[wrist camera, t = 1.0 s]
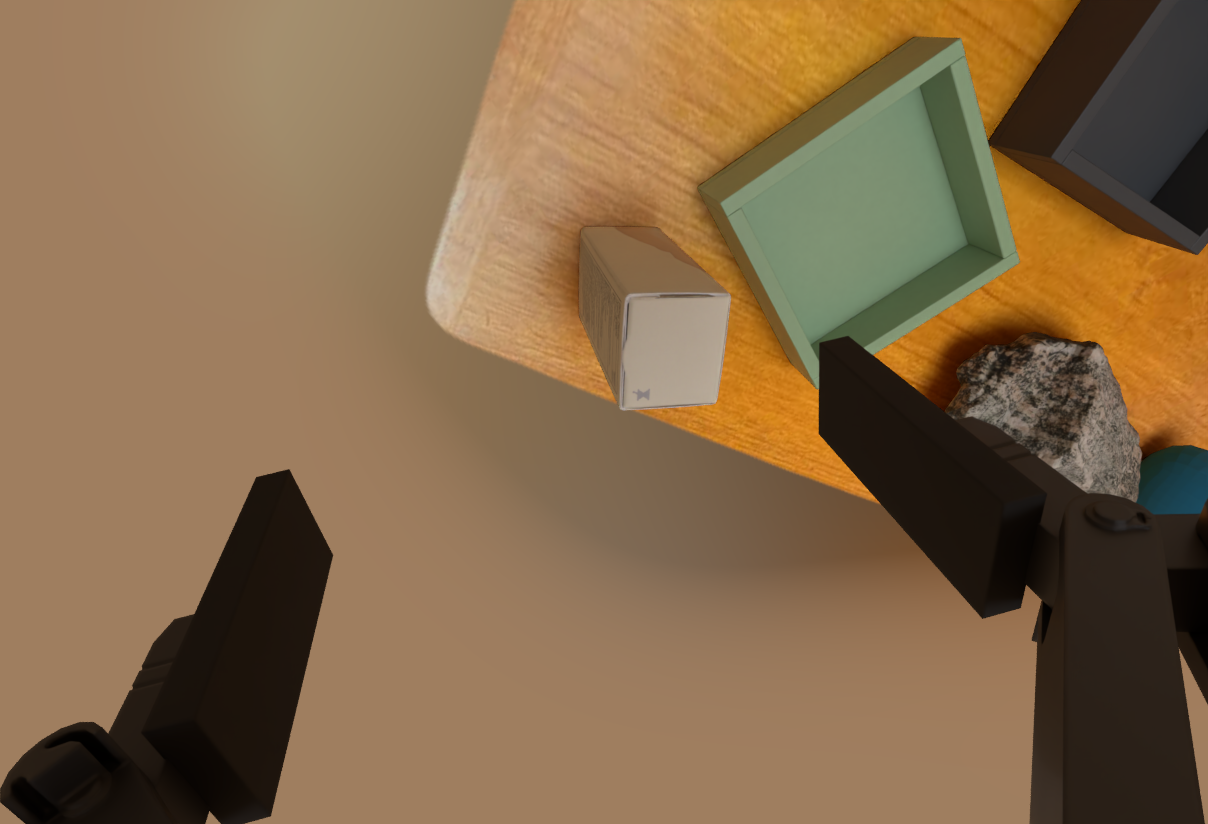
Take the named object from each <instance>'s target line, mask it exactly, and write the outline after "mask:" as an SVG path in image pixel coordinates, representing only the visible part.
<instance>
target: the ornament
mask: <svg viewBox="0 0 1208 824" xmlns="http://www.w3.org/2000/svg"><path fill="white" fill-rule="evenodd" d="M1138 487H1139V494H1138V499H1137V500H1136V503H1138V504H1140V505H1142V506H1144V507H1145V508H1146V509H1147V510H1149V511H1150V512H1151V513H1152V514H1201V511H1202V509H1203V506H1204V504H1205V502H1206V500H1207V498H1208V450H1205V449H1202V448H1198V447H1195V446H1192V445H1184V446H1171V447H1168V448H1165V449H1163V450H1160V451H1157V452H1155V453H1152V454H1150V455H1149V456H1148V457H1147V458H1145V459H1144V460H1143V461H1141V466H1140V482H1139V485H1138Z"/></svg>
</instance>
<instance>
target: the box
mask: <svg viewBox="0 0 1208 824" xmlns="http://www.w3.org/2000/svg"><path fill="white" fill-rule="evenodd" d="M730 302H731V295H730V294H729V293H728V292H727V291H726V290H725V289H724V288H723V287H722V286H721V285H719V284H718V283H717V282H716V281H715V280H714V279H713V278H712V277H711V276H710V275H709V274H708V273H706V272H705V271H704V270H703V269H702V268H701V267H700V266H699V265H698V264H697V263H696V262H695V261H694V260H693V259H692V258H691V257H689V256H688V255H687V254H686V253H685V252H684V251H683V250H682V249H681V248H680V247H679V246H678V245H677V244H675V243H674V242H673V241H672V240H671V239H670V238H669V237H668V236H667V235H666V234H665V233H663V232H662V231H661V230H660V229H659V228H656V227H628V226H601V227H583V228H582V230H581V235H580V252H579V317H580V319H581V322H582V324H583V326H584V329H585V331H586V333H587V336H588V338H589V340H590V342H591V345H592V347H593V349H594V352H595V354H596V356H597V359H598V361H599V363H600V366H601V368H602V370H603V372H604V374H605V377H606V379H607V381H608V383H609V386H610V388H611V390H612V393H613V395H614V397H615V399H616V401H617V404H618V406H619V408H620V409H621V410H638V409H659V408H676V407H689V406H699V405H712V404H715V403H716V401H717V397H718V391H719V385H720V379H721V372H722V366H723V359H724V352H725V344H726V336H727V327H728V320H729V310H730Z"/></svg>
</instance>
